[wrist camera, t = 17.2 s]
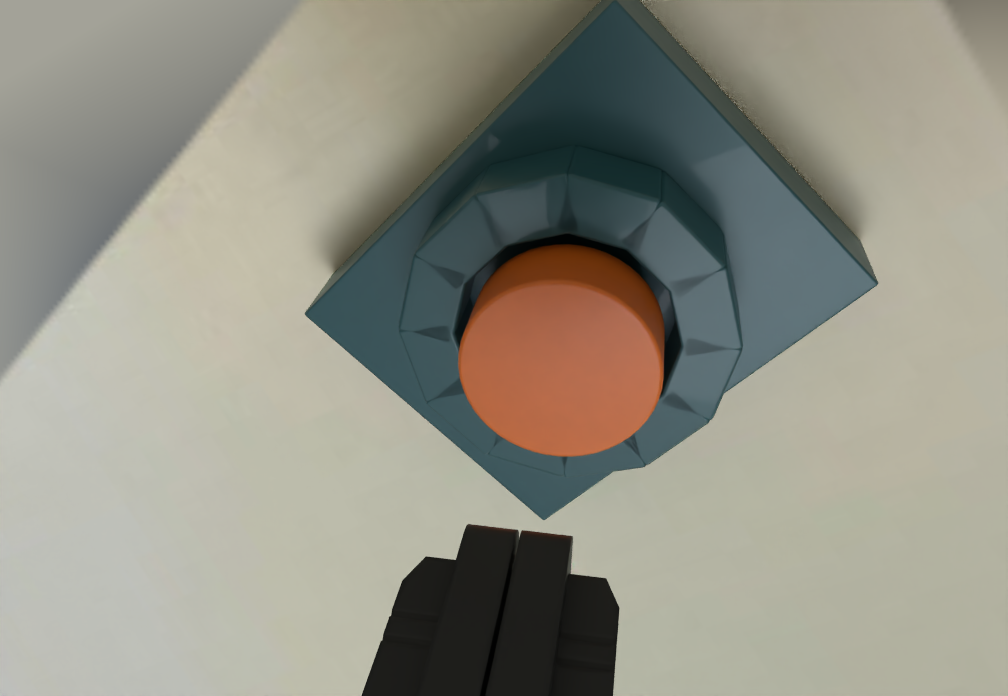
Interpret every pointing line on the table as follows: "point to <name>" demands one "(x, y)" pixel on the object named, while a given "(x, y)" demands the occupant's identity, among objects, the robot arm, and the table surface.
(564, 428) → the button
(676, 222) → the control block
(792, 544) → the table surface
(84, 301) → the table surface
